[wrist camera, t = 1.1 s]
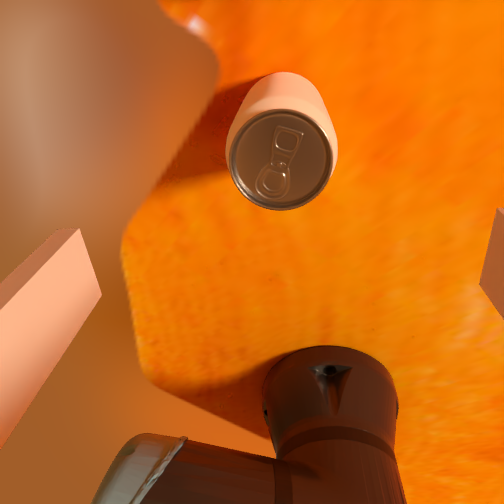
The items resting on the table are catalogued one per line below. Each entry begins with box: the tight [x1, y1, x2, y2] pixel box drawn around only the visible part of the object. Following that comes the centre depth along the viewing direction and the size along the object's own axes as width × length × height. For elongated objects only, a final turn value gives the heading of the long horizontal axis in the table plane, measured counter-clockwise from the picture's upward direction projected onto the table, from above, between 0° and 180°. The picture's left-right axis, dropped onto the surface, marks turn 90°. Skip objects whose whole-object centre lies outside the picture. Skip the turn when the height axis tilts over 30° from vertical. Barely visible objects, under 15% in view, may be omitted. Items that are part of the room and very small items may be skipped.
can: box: [225, 72, 338, 211], centre depth 27 cm, size 6×6×12 cm
